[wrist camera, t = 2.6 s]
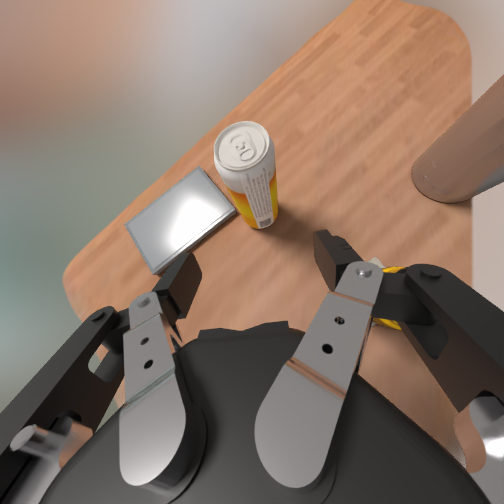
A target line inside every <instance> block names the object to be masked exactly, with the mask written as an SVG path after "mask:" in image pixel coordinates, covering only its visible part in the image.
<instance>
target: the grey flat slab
mask: <svg viewBox="0 0 504 504" xmlns="http://www.w3.org/2000/svg"><path fill="white" fill-rule="evenodd" d="M235 213H237V211H236V210H235V208H234V207H233V206H232V205H231V204H230V202H229V201H228V200H227V199H226V197H225V196H224V195H223V194H222V193H221V191H220V190H219V189H218V188H217V187H216V185H215V184H214V183H213V182H212V181H211V179H210V178H209V177H208V176H207V175H206V173H205V172H204V171H203V170H202V169H201V167H200V166H198V167H197V168H196V169H194V170H193V171H192V172H191V173H189V174H188V175H187V176H185V177H184V178H183V179H182V180H180V181H179V182H178V183H177V184H175V185H174V186H173V187H171V188H170V189H169V190H168V191H166V192H165V193H164V194H163V195H161V196H160V197H159V198H157V199H156V200H155V201H154V202H152V203H151V204H150V205H149V206H147V207H146V208H145V209H144V210H142V211H141V212H140V213H138V214H137V215H136V216H135V217H133V218H132V219H131V220H130V221H128V222H127V223H126V224H124V225H125V226H126V228H127V230H128V232H129V234H130V235H131V237H132V239H133V241H134V242H135V244H136V246H137V248H138V249H139V251H140V253H141V255H142V257H143V258H144V260H145V262H146V264H147V265H148V267H149V269H150V271H151V273H152V274H153V275H158V274H159V273H161V272H162V271H163V270H165V269H166V268H167V267H168V266H170V265H171V264H172V263H173V262H175V261H176V260H177V258H178V257H179V255H180V254H185V253H186V252H187V251H189V250H190V249H191V248H192V247H194V246H195V245H196V244H197V243H199V242H200V241H201V240H203V239H204V238H205V237H206V236H208V235H209V234H210V233H211V232H213V231H214V230H215V229H216V228H218V227H219V226H220V225H222V224H223V223H224V222H225V221H227V220H228V219H229V218H230V217H232V216H233V215H234V214H235Z"/></svg>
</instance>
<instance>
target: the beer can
mask: <svg viewBox="0 0 504 504" xmlns="http://www.w3.org/2000/svg"><path fill="white" fill-rule="evenodd" d="M214 162H215V166H216V169H217V171H218V172H219V174H220V176H221V178H222V180H223V182H224V184H225V185H226V187H227V189H228V191H229V193H230V195H231V197H232V198H233V200H234V202H235V204H236V206H237V208H238V210H239V211H240V213H241V215H242V217H243V219H244V221H245V222H246V223H247V224H248V225H249V226H251V227H253V228H258V229H260V228H265V227H268V226H269V225H271V224H272V223H273V222H274V221H275V220H276V218H277V215H278V199H277V182H276V165H275V148H274V144H273V141H272V139H271V138H270V137H269V135H268V133H267V131H266V130H265V128H264V127H263V126H261V125H260V124H258V123H255V122H251V121H242V122H237V123H234V124H232V125H230V126H228V127H227V128H225V129H224V130H223V131H222V132H221V133H220V134H219V136H218V137H217V139H216V141H215V145H214Z"/></svg>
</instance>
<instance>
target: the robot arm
mask: <svg viewBox="0 0 504 504" xmlns="http://www.w3.org/2000/svg"><path fill="white" fill-rule="evenodd" d="M412 179H413V182H414V184H415V186H416V187H417V188H418V190H419V191H421V192H422V193H423V194H424V195H426V196H427V197H429V198H431V199H434V200H436V201H440V202H447V203H455V202H461V201H465V200H468V199H470V198H472V197H474V196H476V195H478V194H480V193H481V192H484V191H486V190H488V189H490V188H492V187H494V186H496V185H498V184H500V183H502V182H504V75H503V76H502V77H501V78H500V79H499V80H498V81H497V82H495V83H494V84H493V86H491V87H490V88H489V89H488V90H487V91H486V92H485V93H484V94H483V95H482V96H481V98H479V99H478V100H477V101H476V102H475V103H474V104H473V105H472V106H471V107H470V108H469V109H468V110H467V111H466V112H465V113H464V114H463V115H462V116H461V117H460V118H459V119H458V120H457V121H456V122H455V123H454V124H453V125H452V126H451V127H450V128H449V129H448V130H447V131H446V132H445V133H444V134H443V135H442V136H441V137H439V138H438V139H437V140H436V141H435V142H434V143H433V144H432V145H431V146H430V147H429V148H428V149H427V150H426V151H425V152H424V153H423V154H422V155H421V156H420V157H419V158H418V159H417V161H416V162H415V163H414V166H413V168H412ZM313 237H314V256H315V261H316V263H317V265H318V267H319V269H320V271H321V274H322V276H323V278H324V280H325V282H326V284H327V286H328V288H329V290H330V291H329V292H328V294H327V295H326V297H325V299H324V301H323V303H322V304H321V306H320V308H319V310H318V312H317V313H316V315H315V317H314V319H313V321H312V322H311V324H310V326H309V328H308V330H307V331H306V333H305V332H303V331H300V330H297V329H293V328H289V326H288V321H280V322H271V323H264V324H261V325H258V326H255V327H252V328H250V329H247V330H244V331H237V330H231V329H224V328H216V329H207V330H200V332H199V335H198V338H197V339H194V340H192V341H190V342H188V343H187V344H185V342H184V340H183V337H182V335H181V332H180V330H179V327H178V325H177V324H176V321H177V319H183V318H186V316H187V314H188V311H189V309H190V306H191V304H192V301H193V299H194V297H195V294H196V292H197V289H198V287H199V284H200V282H201V279H202V272H201V269H200V267H199V265H198V262H197V260H196V258H195V256H194V254H193V253H185V254H180V255H179V257H178V258H177V260H176V261H175V262H174V263H173V264H172V265H171V266H170V267H168V269H167V270H166V271H165V274H163V276H162V278H160V280H159V281H158V283H157V284H156V285H155V287H154V288H153V290H152V291H151V292H147V293H144V294H142V295H140V296H138V297H137V298H136V299H135V300H133V301H132V303H131V304H130V306H129V308H127V309H125V310H122V311H119V312H117V311H116V310H115V309H114V308H113V307H112V306H107V307H104V308H102V309H99V310H98V311H96V312H94V313H93V314H92V315H90V316H89V317H88V318H87V319H86V320H85V321H84V322H83V323H82V325H81V326H80V327H79V328H78V329H77V330H76V331H75V332H74V333H73V335H71V337H70V338H69V339H68V340H67V341H66V342H65V343H64V344H63V345H62V346H61V348H60V349H59V350H58V351H57V352H56V353H55V354H54V355H53V356H52V357H51V359H50V360H49V361H48V362H47V363H46V364H45V365H44V366H43V367H42V368H41V369H40V371H39V372H38V373H37V374H36V375H35V376H34V377H33V378H32V380H31V381H30V382H29V383H28V384H27V385H26V386H25V387H24V388H23V389H22V390H21V391H20V393H19V394H18V395H17V396H16V397H15V398H14V399H13V400H12V401H11V402H10V404H9V405H8V406H7V407H6V408H5V409H4V410H3V411H2V412H1V413H0V504H504V312H503V311H502V310H500V309H499V308H498V307H496V306H495V305H494V304H492V303H491V302H490V301H488V300H487V299H486V298H484V297H483V296H482V295H480V294H479V293H478V292H476V291H475V290H474V289H472V288H471V287H470V286H468V285H467V284H466V283H464V282H463V281H462V280H460V279H459V278H458V277H456V276H455V275H454V274H452V273H451V272H449V271H448V270H446V269H444V268H441V267H438V266H435V265H430V264H414V265H411V266H410V267H408V269H407V271H406V274H405V273H389V272H383V270H382V269H381V268H380V267H379V266H378V265H376V264H374V263H371V262H365V261H363V260H362V258H361V257H360V256H359V255H358V254H357V253H356V252H355V251H354V249H352V247H351V246H350V245H349V244H348V243H347V241H346V240H345V239H343V238H341V237H339V236H332V235H331V234H330V233H329V231H328V230H327V229H326V230H320V231H314V234H313ZM374 318H380V319H386V320H393V321H396V322H397V323H398V325H399V326H400V328H401V329H402V331H403V332H404V334H405V335H406V337H407V338H408V339H409V341H410V342H411V344H412V345H413V347H414V348H415V350H416V351H417V353H418V354H419V355H420V357H421V358H422V360H423V361H424V363H425V364H426V366H427V367H428V369H429V370H430V372H431V373H432V374H433V376H434V377H435V379H436V380H437V382H438V383H439V385H440V386H441V388H442V389H443V391H444V392H445V393H446V395H447V396H448V398H449V399H450V401H451V402H452V404H453V405H454V407H455V408H456V410H457V411H458V412H459V414H458V415H457V416H456V417H455V419H454V431H455V434H456V437H457V439H458V441H459V443H460V445H461V447H462V449H463V452H464V454H465V458H466V469H465V468H464V467H463V466H462V465H461V464H460V463H459V462H458V461H457V460H456V459H455V458H454V457H453V456H452V455H451V454H450V453H449V452H448V451H447V450H446V449H445V448H444V447H443V446H442V445H440V444H439V443H438V442H437V441H436V440H435V439H433V438H432V437H431V436H430V435H429V434H428V433H426V432H425V431H424V430H423V429H422V428H421V427H419V426H418V425H417V424H416V423H415V422H413V421H412V420H411V419H410V418H409V417H408V416H406V415H405V414H404V413H403V412H402V411H401V410H399V409H398V408H397V407H396V406H395V405H394V404H392V403H391V402H390V401H389V400H388V399H387V398H385V397H384V396H383V395H382V394H381V393H379V392H378V391H377V390H376V389H375V388H374V387H372V386H371V385H370V384H369V383H368V382H367V381H365V380H364V379H363V378H362V377H361V376H360V375H358V374H359V370H360V367H361V363H362V359H363V355H364V351H365V347H366V344H367V340H368V336H369V333H370V329H371V326H372V322H373V319H374ZM100 344H102V345H103V346H104V347H105V348H107V349H108V350H109V351H108V353H107V354H106V356H105V357H104V359H103V360H102V362H101V363H100V365H99V367H98V368H97V370H96V371H95V373H92V372H91V371H90V370H89V368H88V363H89V360H90V358H91V357H92V355H93V354H94V353H95V351H96V350H97V349H98V347H99V346H100ZM124 376H125V403H124V404H123V405H122V406H121V407H120V408H119V409H118V410H117V412H115V414H114V415H113V416H112V417H111V418H110V419H109V420H108V421H107V422H106V423H105V424H104V425H103V426H102V427H101V428H100V429H99V430H98V431H97V432H96V433H95V431H96V430H97V428H98V426H99V424H100V422H101V420H102V418H103V416H104V414H105V412H106V410H107V408H108V406H109V405H110V403H111V401H112V399H113V397H114V395H115V393H116V391H117V389H118V388H119V386H120V384H121V382H122V380H123V378H124ZM94 433H95V434H94Z"/></svg>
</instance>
